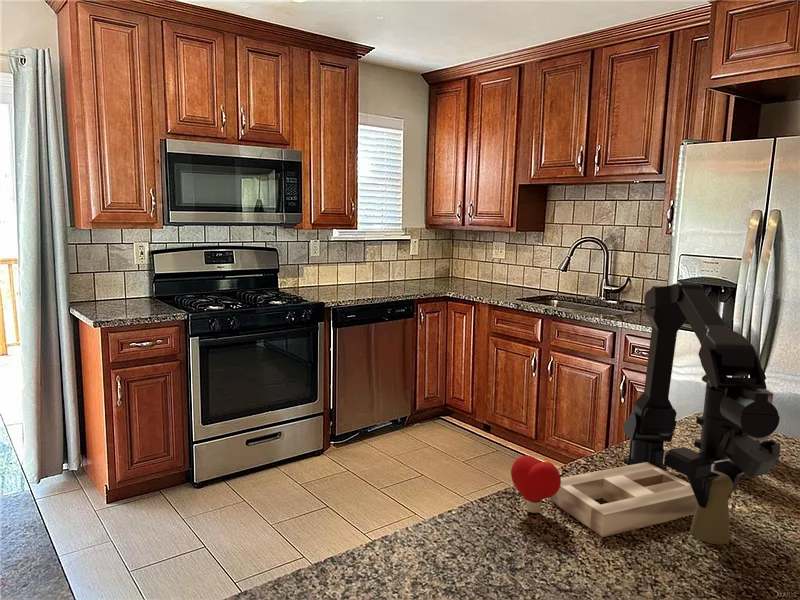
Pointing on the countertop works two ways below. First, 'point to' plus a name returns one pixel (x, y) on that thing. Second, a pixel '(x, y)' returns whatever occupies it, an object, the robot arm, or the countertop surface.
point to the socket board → (625, 498)
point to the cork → (714, 513)
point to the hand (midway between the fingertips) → (712, 504)
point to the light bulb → (535, 481)
